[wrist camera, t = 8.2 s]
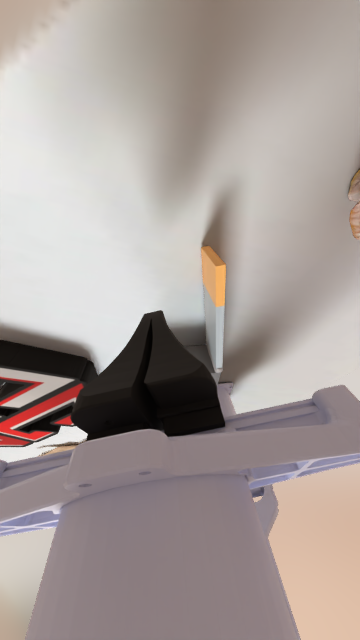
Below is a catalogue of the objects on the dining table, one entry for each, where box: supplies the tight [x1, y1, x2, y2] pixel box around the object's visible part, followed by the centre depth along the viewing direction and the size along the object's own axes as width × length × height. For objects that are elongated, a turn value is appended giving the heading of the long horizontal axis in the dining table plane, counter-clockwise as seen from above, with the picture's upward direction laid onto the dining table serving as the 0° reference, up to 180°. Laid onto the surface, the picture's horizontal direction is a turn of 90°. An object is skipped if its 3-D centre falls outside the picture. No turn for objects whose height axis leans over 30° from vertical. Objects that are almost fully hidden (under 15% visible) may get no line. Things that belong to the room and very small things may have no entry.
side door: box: [201, 246, 226, 373], centre depth 19 cm, size 1×14×5 cm, turn 8°
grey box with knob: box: [185, 345, 221, 385], centre depth 27 cm, size 9×9×6 cm
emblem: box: [0, 340, 98, 447], centre depth 27 cm, size 18×4×30 cm
